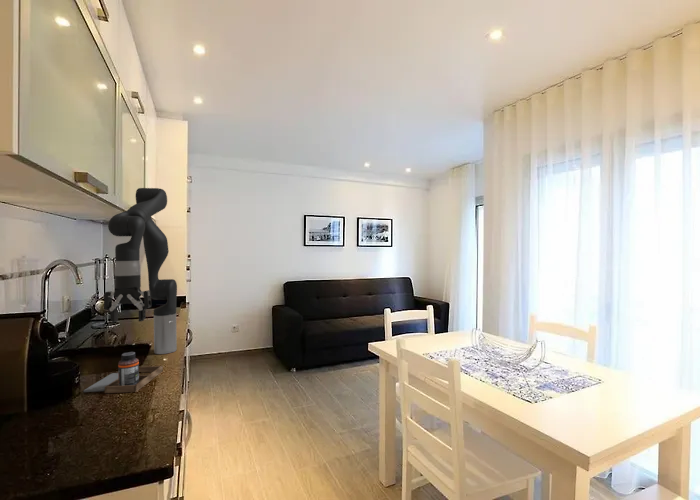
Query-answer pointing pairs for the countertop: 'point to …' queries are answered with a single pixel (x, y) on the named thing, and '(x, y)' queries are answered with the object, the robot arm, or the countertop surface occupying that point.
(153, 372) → the two bay tray
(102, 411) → the countertop surface
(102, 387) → the slate mat
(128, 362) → the supplement bottle
